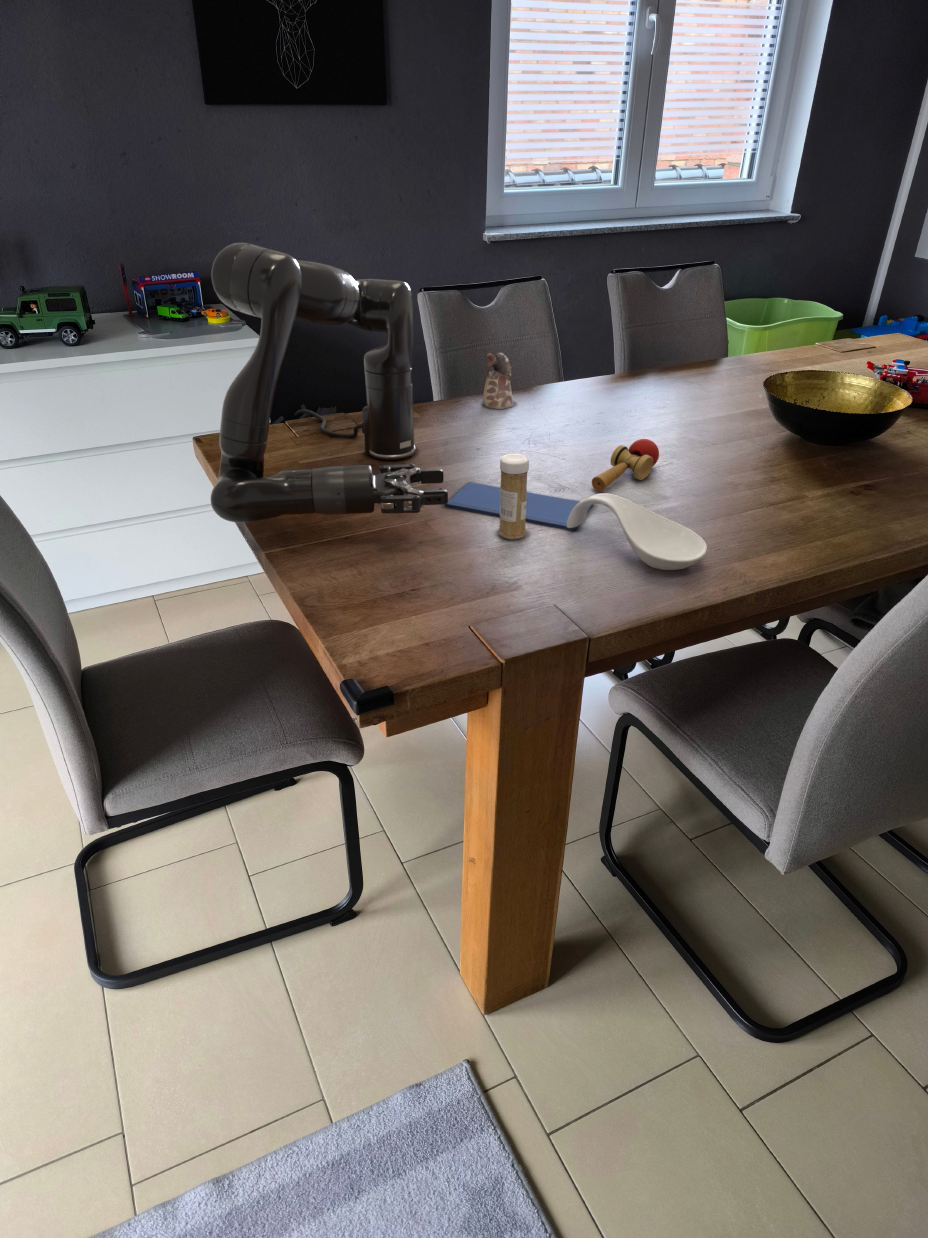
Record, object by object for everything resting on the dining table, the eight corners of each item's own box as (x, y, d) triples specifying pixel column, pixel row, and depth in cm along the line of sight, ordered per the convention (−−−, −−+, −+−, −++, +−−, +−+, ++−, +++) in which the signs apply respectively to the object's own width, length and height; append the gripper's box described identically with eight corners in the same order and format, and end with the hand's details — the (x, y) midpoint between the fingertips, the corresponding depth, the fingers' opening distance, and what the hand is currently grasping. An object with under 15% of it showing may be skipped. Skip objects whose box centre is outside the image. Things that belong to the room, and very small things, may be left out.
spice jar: (531, 536, 138) (535, 459, 131) (509, 542, 136) (511, 465, 129) (514, 525, 141) (517, 450, 134) (492, 532, 139) (494, 456, 132)
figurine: (513, 409, 194) (515, 356, 188) (483, 408, 194) (483, 356, 188) (512, 399, 200) (514, 348, 194) (482, 399, 200) (483, 348, 194)
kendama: (619, 504, 152) (671, 464, 162) (614, 472, 149) (667, 433, 158) (584, 499, 157) (637, 461, 167) (579, 468, 154) (633, 431, 164)
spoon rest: (716, 561, 131) (725, 520, 127) (678, 589, 123) (686, 546, 119) (592, 514, 144) (596, 475, 140) (551, 537, 136) (554, 496, 132)
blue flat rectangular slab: (444, 506, 148) (444, 503, 148) (469, 484, 157) (469, 481, 156) (573, 530, 140) (574, 527, 140) (592, 505, 148) (593, 502, 148)
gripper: (340, 485, 123) (449, 481, 125) (342, 451, 135) (441, 447, 137) (344, 531, 127) (449, 526, 129) (345, 494, 139) (442, 490, 141)
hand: (445, 485), depth 133 cm, fingers open, 8 cm apart
